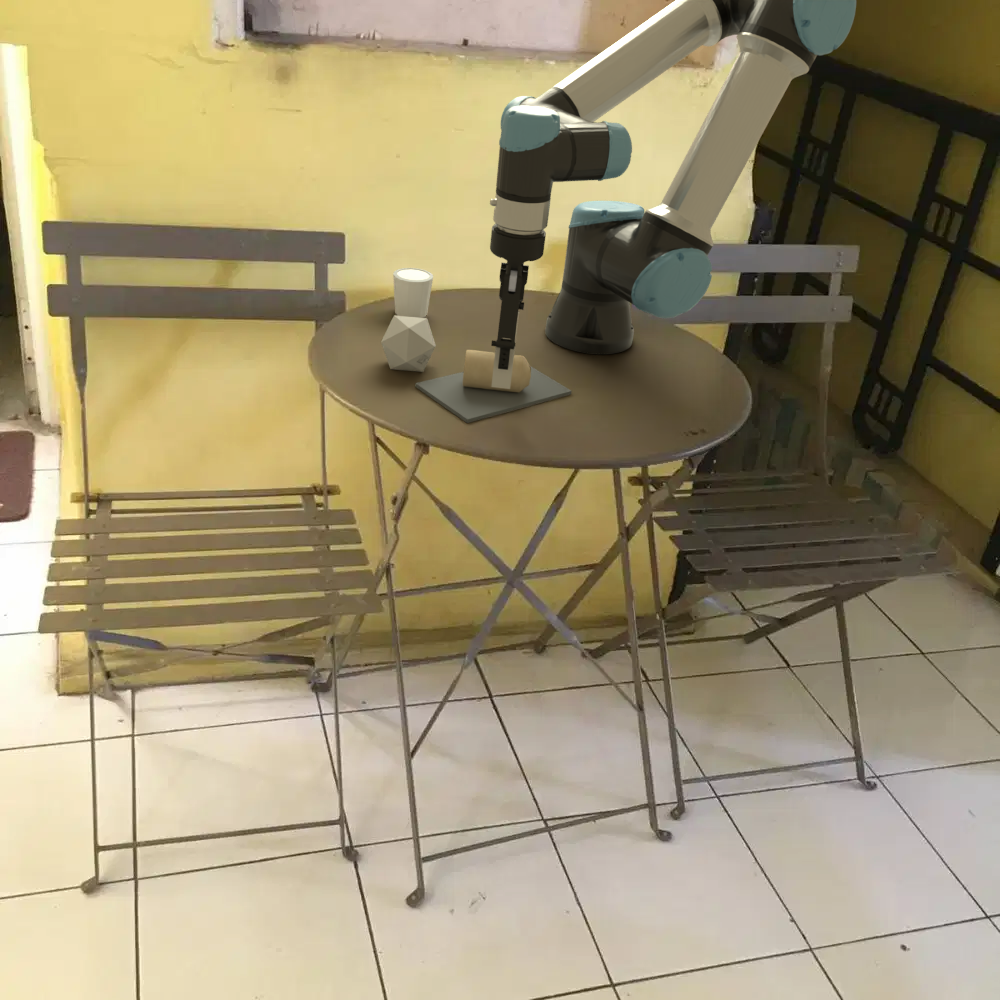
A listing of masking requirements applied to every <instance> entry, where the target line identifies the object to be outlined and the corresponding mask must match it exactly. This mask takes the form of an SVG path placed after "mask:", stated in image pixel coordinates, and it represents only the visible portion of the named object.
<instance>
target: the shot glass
mask: <svg viewBox="0 0 1000 1000" xmlns="http://www.w3.org/2000/svg"><path fill="white" fill-rule="evenodd" d="M392 275H393V278H392V279H393V297H394V313H395V315H396V316H406V317H418V318H426V317H427V316H428V311H429V306H430V300H431V299H430V298H431V292H432V287H433V279H434V274H433V273H432V272H430V271H428V270H426V269H422V268H417V267H403V268H399V269H396V270H394V271H393V274H392ZM426 315H427V316H426Z"/></svg>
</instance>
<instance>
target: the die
mask: <svg viewBox="0 0 1000 1000" xmlns="http://www.w3.org/2000/svg"><path fill="white" fill-rule="evenodd" d="M380 343H381V346H382V350H383V352H384V355H385V358H386V361H387V364H388V366H389V368H390V370H394V371H395V370H397V371H405V372H406V371H409V372H410V371H411V372H418V373H419V372H420V373H424V371H425V369H426V367H427V365H428V363H429V361H430V359H431V356H432V354H433V353H434V351H435V349H436V342H435V339H434V336H433V333H432V330H431V327H430V323H429V320H428V318H427V317H424V318H418V317H406V316H398V315H396V314H395V315H393V317H392V319H391V321H390V322H389V325H388V327H387V329H386V331H385V333H384V335H383V337H382V340H380Z"/></svg>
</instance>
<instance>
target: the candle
mask: <svg viewBox="0 0 1000 1000" xmlns="http://www.w3.org/2000/svg"><path fill="white" fill-rule="evenodd" d="M494 358H495V351H494V352H493V351H485V350H475V349H466V351H465V356H464V365H463V372H464V373H463V386H465V387H473V388H482V389H491V390H500V391H509V392H518V393H519V392H521V391H522V390H523V389H524V388H525V387H527V386H528V385H529V382H530V378H531V367H532V366H531V365H530V363H529V362H528V360H527V358H526V357H525V356H524V355H518V354H514V360H513V369H512V377H511V386H510V389H505V388H496V387H491V386H492V377H493V367H494Z"/></svg>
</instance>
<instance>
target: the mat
mask: <svg viewBox="0 0 1000 1000" xmlns="http://www.w3.org/2000/svg"><path fill="white" fill-rule="evenodd" d="M463 373H464V371H461V372H457V373H452V374H448V375H447V374H446V375H444V376H439V377H435V378H431V379H428V380H423V381H419V382H418V381H417V382H416V383H415V388H417V389H418V390H419V391H421V392H422V393H423V394H425V395H426V396H427V397H428V398H431V399H432V400H433V401H435V402H436V403H438V404H439V405H441V406H442V407H443V408H445V409H446V410H448V411H449V412H451V413H452V414H454V416H456V417H458V418H459V419H461V420H463V421H464V422H465V423H467V424H469V423H473V422H475V421H480V420H485V419H487V418H490V417H496V416H498V415H501V414H502V415H503V414H505V413H509V412H512V411H516V410H519V409H523V408H527V407H531V406H534V405H538V404H542V403H544V402H548V401H553V400H556V399H559V398H563V397H566V396H570V395H572V392H573V390H571V389H569V388H568V387H566V386H565V385H563V384H561V383H560V382H558V381H556V380H555V379H553V378H551V377H550V376H548V375H546V374H545V373H543V372H541V371H540V370H538V369H536V368H535V367H533V366H531V378H530V382H529V385H528V386H527V387H525V388H524V389H523V390H522V391H521V392H519V393H518V392H509V391H500V390H491V389H482V388H473V387H465V386H463Z"/></svg>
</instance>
